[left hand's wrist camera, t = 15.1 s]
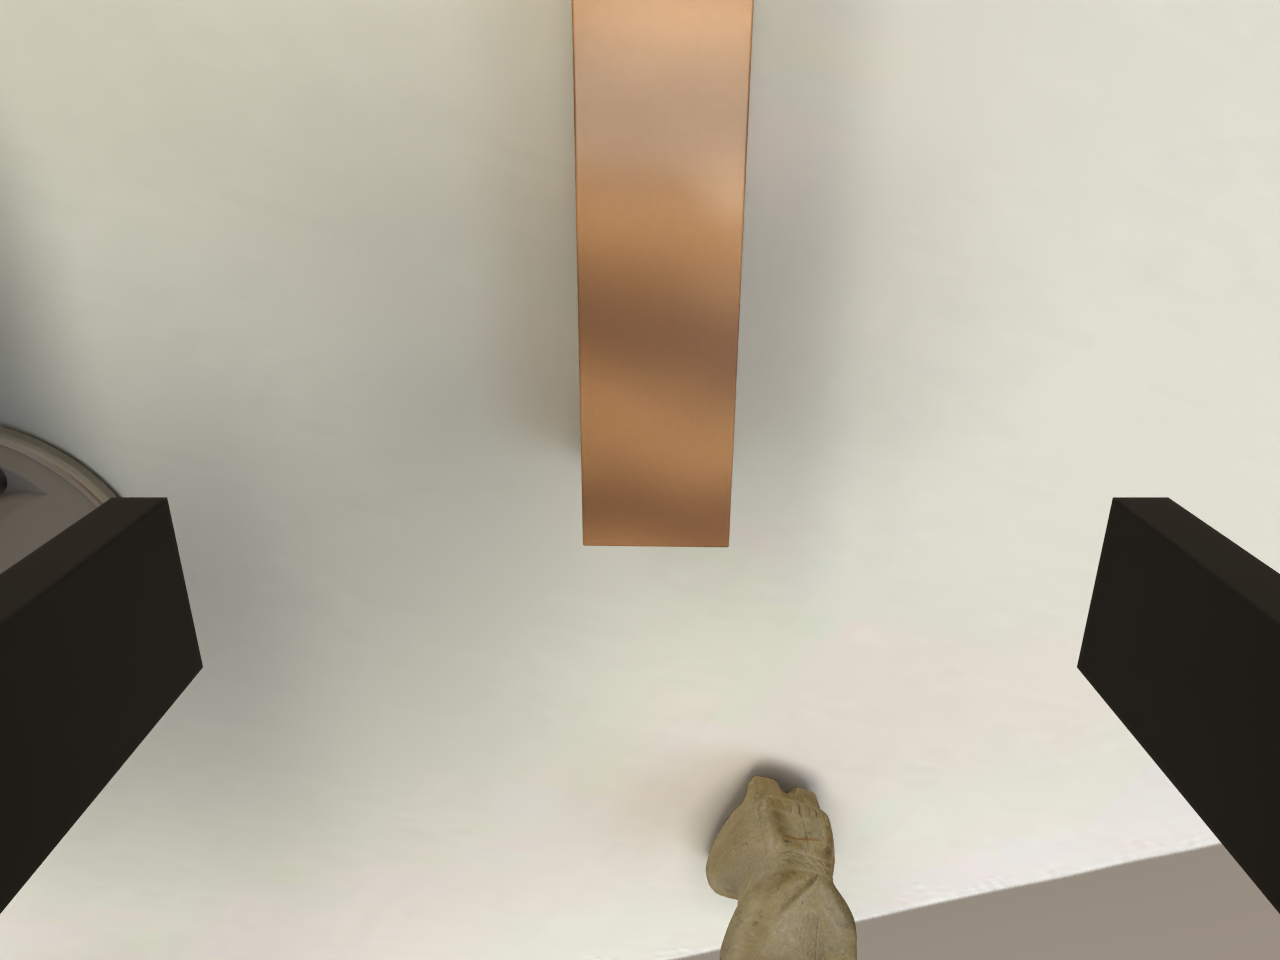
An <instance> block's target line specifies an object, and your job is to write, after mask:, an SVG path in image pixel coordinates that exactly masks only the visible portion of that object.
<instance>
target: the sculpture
mask: <svg viewBox="0 0 1280 960" xmlns="http://www.w3.org/2000/svg"><path fill="white" fill-rule="evenodd" d="M834 863H835V858H834V841H833V834H832V829H831V825H830V821H829V818H828V816H827V814H826V813H824V812H823V811H822V810H820V807H819V804H818V801H817V798H816V795H815V794H814V793H813V792H811V791H808V790H806V789H803V788H800V787H794V788H791V790H790V791H789V792H788V793H785V792H784V791H782V789H781V788H780V787H779V785H778V784H777V782H776V781H775V780H773V779H770V778H766V777H760V776H755V777H753V778H752V779H751V780H750V782H749V784H748V785H747V793H746V796H745V798H744V800H743V802H742V803H741V804H740V805H739V806H738V807H737V808H736V809H735V810H734V811H733V812H732V813H731V815H730V816H729V818H728V819H727V821H726V822H725V823H724V825H723V826H722V828H721V830H720V832H719V834H718V835H717V837H716V839H715V841H714V843H713V845H712V848H711V850H710V854H709V857H708V860H707V864H706V875H707V879H708V883H709V885H710V886H711V888H712V889H713V890H714V891H715V892H716V893H718V894H719V895H722V896H725V897H728V898H732V899H736V900H738V906H737V908H736V910H735V912H734V914H733V916H732V919H731V921H730V923H729V926H728V928H727V931H726V934H725V937H724V940H723V943H722V946H721V951H720V960H857V937H856V927H855V922H854V918H853V915H852V913H851V911H850V909H849V907H848V905H847V903H846V902H845V900H844V899H843V897H842V896H841V894H840V893H839V891H838V890H837V889H836V887H835V885H834V883H833V871H834Z"/></svg>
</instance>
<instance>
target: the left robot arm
mask: <svg viewBox="0 0 1280 960" xmlns="http://www.w3.org/2000/svg"><path fill="white" fill-rule="evenodd" d="M202 668H203V665H202V660H201V656H200V651H199V646H198V641H197V637H196V632H195V627H194V623H193V618H192V613H191V608H190V604H189V599H188V594H187V590H186V585H185V580H184V575H183V571H182V566H181V561H180V556H179V552H178V547H177V542H176V538H175V533H174V528H173V523H172V519H171V514H170V509H169V505H168V500H167V498H118V497H117V496H116V495H115V494H114V493H113V492H112V491H111V490H110V489H109V488H108V487H107V486H106V485H105V484H104V483H103V482H102V481H101V480H100V479H99V478H97V477H96V476H95V475H94V474H93V473H91V472H90V471H89V470H88V469H86V468H85V467H84V466H82V465H81V464H79V463H78V462H77V461H75V460H74V459H72V458H71V457H69V456H68V455H66V454H64V453H63V452H61V451H59V450H57V449H56V448H54V447H52V446H50V445H48V444H46V443H44V442H42V441H40V440H38V439H36V438H33V437H31V436H28V435H26V434H23V433H20V432H18V431H14V430H11V429H8V428H5V427H1V426H0V914H1V912H2V911H3V910H4V909H5V907H6V906H7V905H8V904H9V903H10V901H11V900H12V899H13V898H14V896H15V895H16V894H17V893H18V892H19V890H20V889H21V888H22V887H23V886H24V884H25V883H26V882H27V881H28V879H29V878H30V877H31V876H32V875H33V873H34V872H35V871H36V870H37V868H38V867H39V866H40V865H41V864H42V862H43V861H44V860H45V859H46V858H47V856H48V855H49V854H50V853H51V851H52V850H53V849H54V848H55V847H56V845H57V844H58V843H59V842H60V841H61V839H62V838H63V837H64V836H65V834H66V833H67V832H68V831H69V830H70V828H71V827H72V826H73V825H74V823H75V822H76V821H77V820H78V819H79V817H80V816H81V815H82V814H83V813H84V811H85V810H86V809H87V808H88V806H89V805H90V804H91V803H92V802H93V800H94V799H95V798H96V797H97V796H98V794H99V793H100V792H101V791H102V789H103V788H104V787H105V786H106V785H107V783H108V782H109V781H110V780H111V778H112V777H113V776H114V775H115V774H116V772H117V771H118V770H119V769H120V768H121V766H122V765H123V764H124V763H125V761H126V760H127V759H128V758H129V757H130V755H131V754H132V753H133V752H134V750H135V749H136V748H137V747H138V746H139V744H140V743H141V742H142V741H143V740H144V738H145V737H146V736H147V735H148V733H149V732H150V731H151V730H152V729H153V727H154V726H155V725H156V724H157V723H158V721H159V720H160V719H161V718H162V716H163V715H164V714H165V713H166V712H167V710H168V709H169V708H170V707H171V705H172V704H173V703H174V702H175V701H176V699H177V698H178V697H179V696H180V695H181V693H182V692H183V691H184V690H185V688H186V687H187V686H188V685H189V684H190V682H191V681H192V680H193V679H194V678H195V676H196V675H197V674H198V673H199V671H200V670H201V669H202ZM1077 668H1078V669H1079V670H1080V671H1081V673H1082V674H1083V675H1084V676H1085V678H1086V679H1087V680H1088V681H1089V682H1090V684H1091V685H1092V686H1093V687H1094V688H1095V690H1096V691H1097V692H1098V693H1099V695H1100V696H1101V697H1102V698H1103V699H1104V701H1105V702H1106V703H1107V704H1108V705H1109V707H1110V708H1111V709H1112V710H1113V712H1114V713H1115V714H1116V715H1117V716H1118V718H1119V719H1120V720H1121V721H1122V723H1123V724H1124V725H1125V726H1126V727H1127V729H1128V730H1129V731H1130V732H1131V733H1132V735H1133V736H1134V737H1135V738H1136V740H1137V741H1138V742H1139V743H1140V744H1141V746H1142V747H1143V748H1144V749H1145V751H1146V752H1147V753H1148V754H1149V755H1150V757H1151V758H1152V759H1153V760H1154V761H1155V763H1156V764H1157V765H1158V766H1159V768H1160V769H1161V770H1162V771H1163V772H1164V774H1165V775H1166V776H1167V777H1168V778H1169V780H1170V781H1171V782H1172V783H1173V785H1174V786H1175V787H1176V788H1177V789H1178V791H1179V792H1180V793H1181V794H1182V796H1183V797H1184V798H1185V799H1186V800H1187V802H1188V803H1189V804H1190V805H1191V806H1192V808H1193V809H1194V810H1195V811H1196V813H1197V814H1198V815H1199V816H1200V817H1201V819H1202V820H1203V821H1204V822H1205V823H1206V825H1207V826H1208V827H1209V828H1210V830H1211V831H1212V832H1213V833H1214V834H1215V836H1216V837H1217V838H1218V839H1219V841H1220V842H1221V843H1222V844H1223V845H1224V847H1225V848H1226V849H1227V850H1228V851H1229V853H1230V854H1231V855H1232V856H1233V858H1234V859H1235V860H1236V861H1237V862H1238V864H1239V865H1240V866H1241V867H1242V868H1243V870H1244V871H1245V872H1246V873H1247V875H1248V876H1249V877H1250V878H1251V879H1252V881H1253V882H1254V883H1255V884H1256V886H1257V887H1258V888H1259V889H1260V890H1261V891H1262V893H1263V894H1264V895H1265V896H1266V898H1267V899H1268V900H1269V901H1270V903H1271V904H1272V905H1273V906H1274V907H1275V909H1276V910H1277V911H1278V912H1279V914H1280V574H1279V573H1278V572H1276V571H1275V570H1273V569H1272V568H1270V567H1269V566H1267V565H1266V564H1264V563H1263V562H1261V561H1260V560H1259V559H1257V558H1256V557H1254V556H1253V555H1251V554H1250V553H1248V552H1247V551H1245V550H1244V549H1243V548H1241V547H1240V546H1238V545H1237V544H1235V543H1234V542H1232V541H1231V540H1229V539H1228V538H1226V537H1225V536H1224V535H1222V534H1221V533H1219V532H1218V531H1216V530H1215V529H1213V528H1212V527H1210V526H1209V525H1207V524H1206V523H1205V522H1203V521H1202V520H1200V519H1199V518H1197V517H1196V516H1194V515H1193V514H1191V513H1190V512H1189V511H1187V510H1186V509H1184V508H1183V507H1181V506H1180V505H1178V504H1177V503H1175V502H1174V501H1172V500H1171V499H1170V498H1113V500H1112V505H1111V509H1110V514H1109V519H1108V523H1107V528H1106V533H1105V538H1104V542H1103V547H1102V552H1101V556H1100V561H1099V566H1098V571H1097V575H1096V580H1095V585H1094V589H1093V594H1092V599H1091V604H1090V608H1089V613H1088V618H1087V622H1086V627H1085V632H1084V637H1083V641H1082V646H1081V651H1080V656H1079V660H1078V665H1077Z"/></svg>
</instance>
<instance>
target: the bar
mask: <svg viewBox="0 0 1280 960" xmlns="http://www.w3.org/2000/svg"><path fill="white" fill-rule="evenodd" d="M753 5H754V0H572V33H573V81H574V130H575V178H576V226H577V275H578V323H579V372H580V420H581V468H582V517H583V545H585V546H669V547H728V546H729V529H730V507H731V485H732V464H733V442H734V420H735V398H736V376H737V354H738V333H739V311H740V289H741V267H742V245H743V223H744V201H745V180H746V158H747V136H748V114H749V92H750V70H751V49H752V27H753Z"/></svg>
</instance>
